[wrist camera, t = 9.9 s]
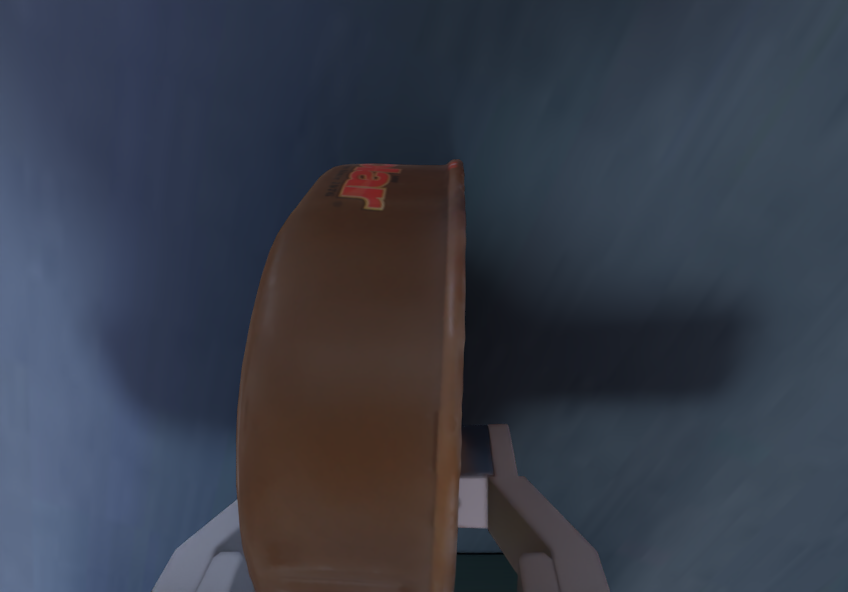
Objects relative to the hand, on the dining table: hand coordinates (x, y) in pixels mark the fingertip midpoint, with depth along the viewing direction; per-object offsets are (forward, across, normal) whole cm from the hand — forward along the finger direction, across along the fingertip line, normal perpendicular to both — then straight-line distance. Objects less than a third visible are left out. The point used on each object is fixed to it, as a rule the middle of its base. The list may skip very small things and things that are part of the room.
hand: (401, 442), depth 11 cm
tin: (+3, 0, 0) cm, 3 cm away
